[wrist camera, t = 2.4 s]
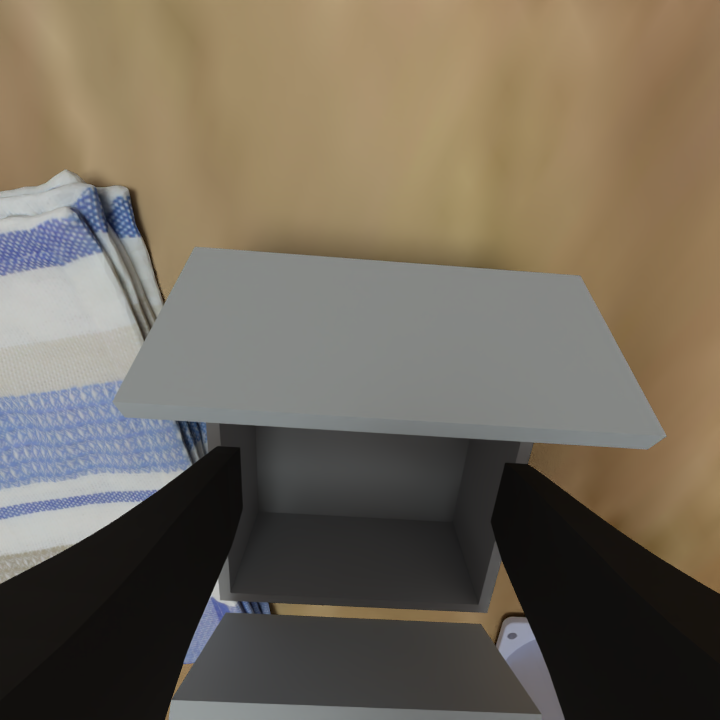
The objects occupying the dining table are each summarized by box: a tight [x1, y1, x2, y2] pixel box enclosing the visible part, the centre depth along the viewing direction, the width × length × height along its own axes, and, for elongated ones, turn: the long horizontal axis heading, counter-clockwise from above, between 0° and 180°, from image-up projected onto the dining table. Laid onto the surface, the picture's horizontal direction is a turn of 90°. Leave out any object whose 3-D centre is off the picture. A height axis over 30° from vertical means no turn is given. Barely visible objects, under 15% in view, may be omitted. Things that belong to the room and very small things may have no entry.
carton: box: [206, 422, 534, 613], centre depth 14 cm, size 12×10×4 cm
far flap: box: [169, 612, 542, 720], centre depth 12 cm, size 4×9×1 cm
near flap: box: [112, 247, 666, 449], centre depth 8 cm, size 4×9×1 cm
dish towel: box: [0, 169, 271, 664], centre depth 17 cm, size 17×24×3 cm
